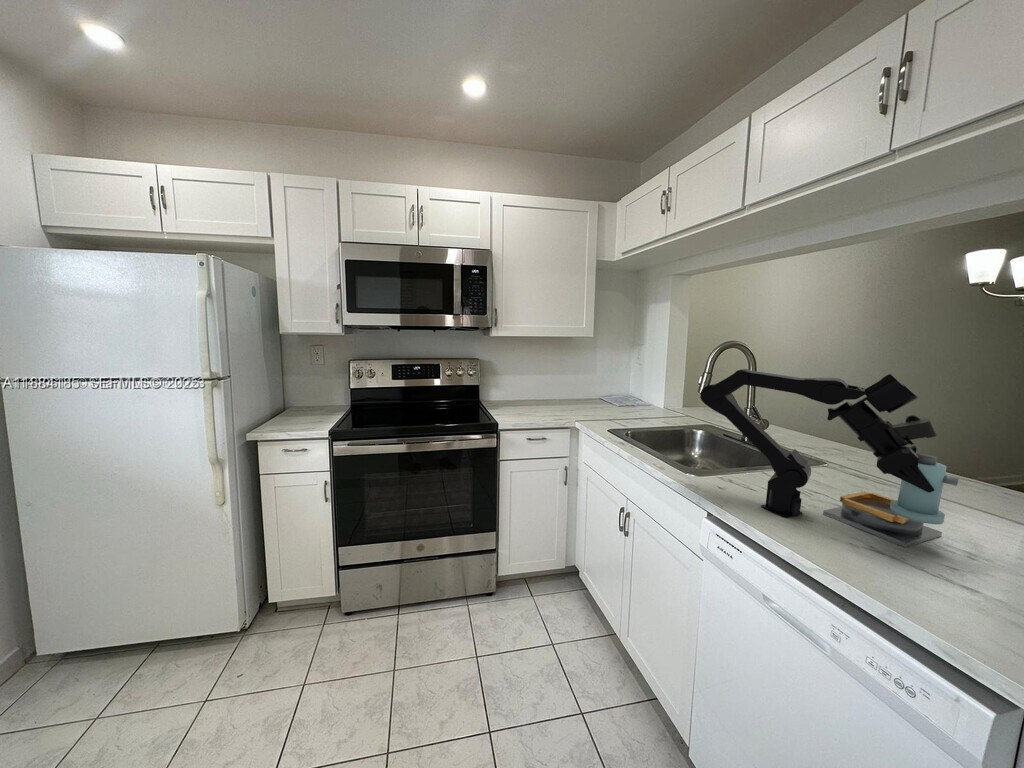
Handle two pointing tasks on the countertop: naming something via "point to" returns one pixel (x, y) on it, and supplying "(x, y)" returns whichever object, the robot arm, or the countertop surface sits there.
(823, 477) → the countertop surface
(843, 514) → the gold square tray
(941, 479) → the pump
